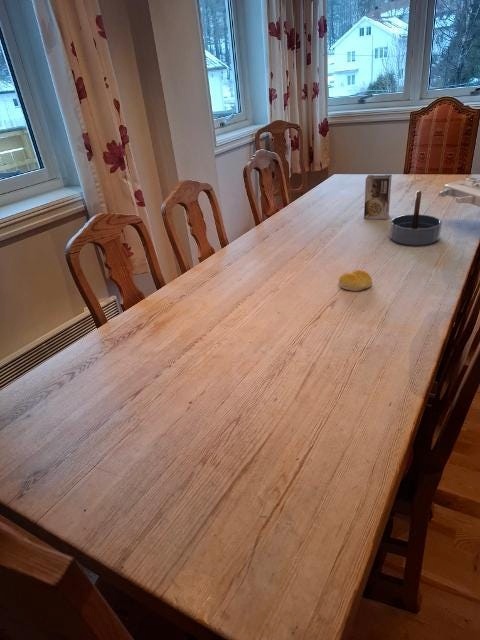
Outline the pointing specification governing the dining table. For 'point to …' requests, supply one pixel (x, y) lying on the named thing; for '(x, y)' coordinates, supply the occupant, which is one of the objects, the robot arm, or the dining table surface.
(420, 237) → the bowl
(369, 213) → the coffee box
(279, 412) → the dining table surface
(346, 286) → the bread roll
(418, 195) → the wooden peg stand
